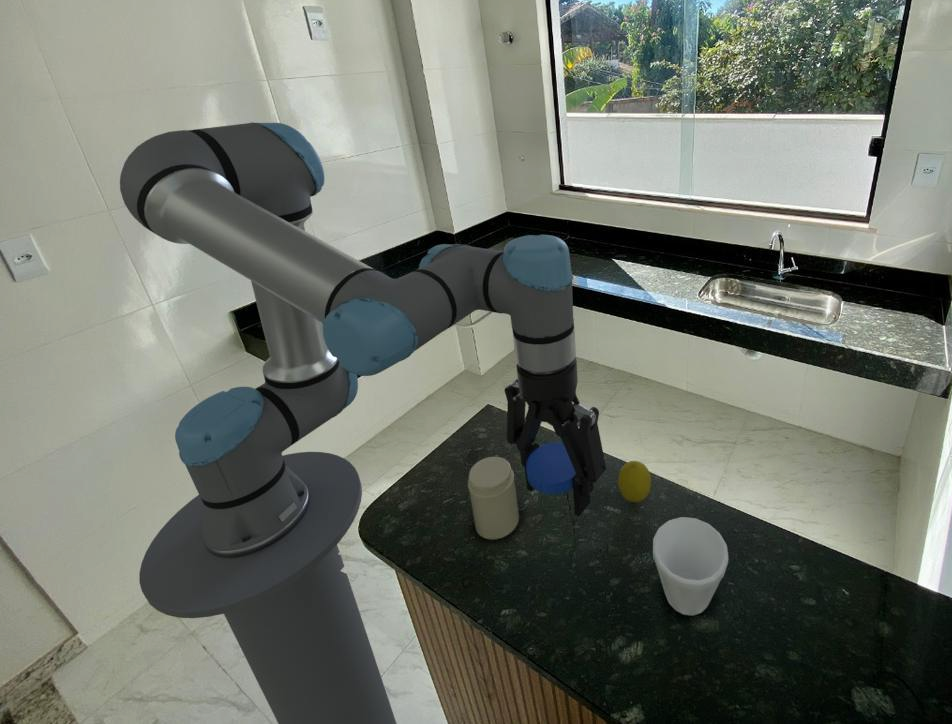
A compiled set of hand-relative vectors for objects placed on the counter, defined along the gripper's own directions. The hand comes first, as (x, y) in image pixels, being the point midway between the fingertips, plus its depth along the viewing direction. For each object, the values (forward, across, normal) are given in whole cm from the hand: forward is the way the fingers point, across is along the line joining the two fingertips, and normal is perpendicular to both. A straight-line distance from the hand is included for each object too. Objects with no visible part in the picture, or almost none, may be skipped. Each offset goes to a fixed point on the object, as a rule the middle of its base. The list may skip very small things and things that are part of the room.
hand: (558, 495), depth 69 cm
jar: (+12, +13, 0) cm, 18 cm away
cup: (+13, -18, -4) cm, 23 cm away
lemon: (+13, -4, -15) cm, 20 cm away
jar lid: (-6, 0, 0) cm, 6 cm away
